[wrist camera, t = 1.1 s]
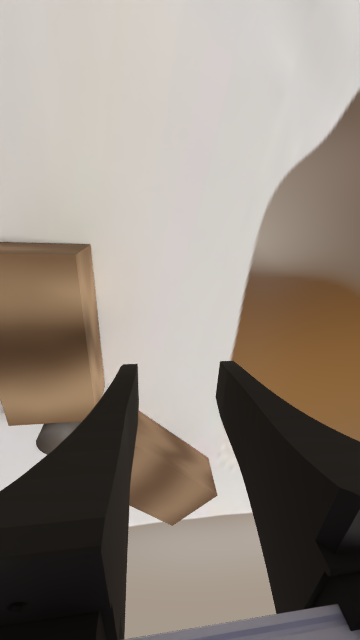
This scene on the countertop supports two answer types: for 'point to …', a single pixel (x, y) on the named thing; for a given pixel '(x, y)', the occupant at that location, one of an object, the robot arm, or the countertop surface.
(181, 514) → the oblong wooden brick
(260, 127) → the countertop surface
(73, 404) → the swing leaf
